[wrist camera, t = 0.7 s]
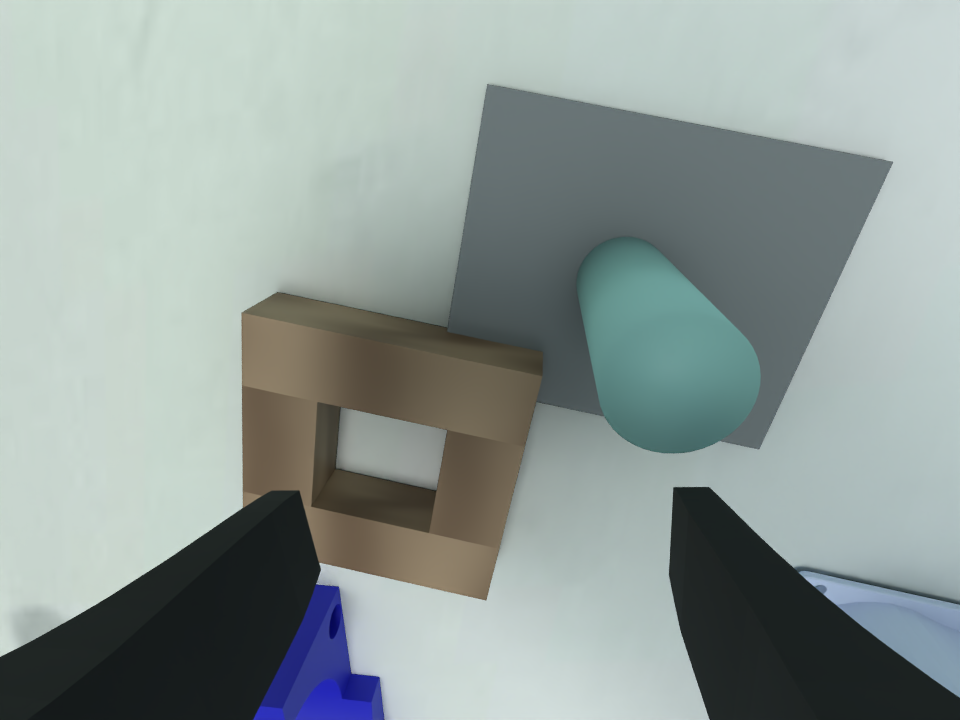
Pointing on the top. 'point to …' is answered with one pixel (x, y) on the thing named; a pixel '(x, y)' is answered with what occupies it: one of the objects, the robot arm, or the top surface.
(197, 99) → the top surface
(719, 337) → the peg
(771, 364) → the mat
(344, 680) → the cable clip
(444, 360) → the socket block
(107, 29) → the top surface
